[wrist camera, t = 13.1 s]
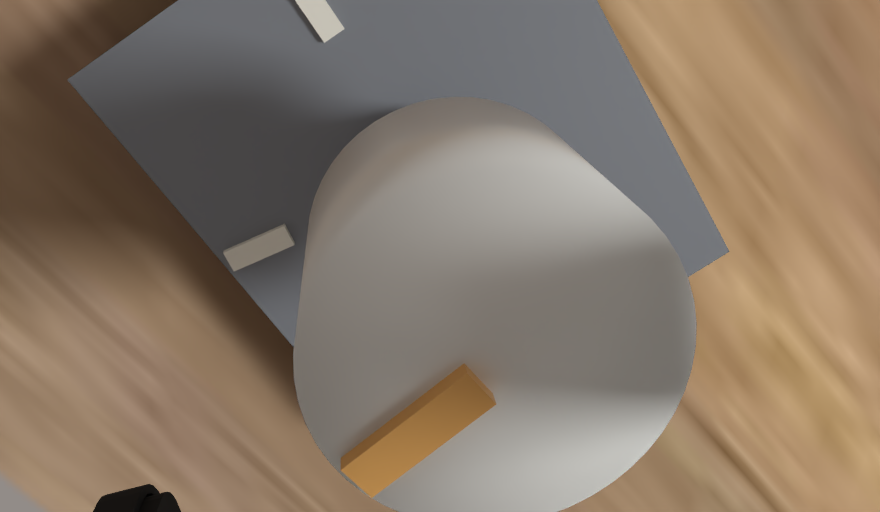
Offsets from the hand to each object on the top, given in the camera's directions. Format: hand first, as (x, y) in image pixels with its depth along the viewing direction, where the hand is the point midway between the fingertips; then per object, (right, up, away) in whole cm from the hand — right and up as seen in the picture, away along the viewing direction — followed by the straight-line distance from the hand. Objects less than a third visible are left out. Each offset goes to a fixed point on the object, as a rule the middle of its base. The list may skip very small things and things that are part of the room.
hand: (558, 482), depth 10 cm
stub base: (-2, +6, +14) cm, 15 cm away
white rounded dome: (-1, +3, +6) cm, 7 cm away
